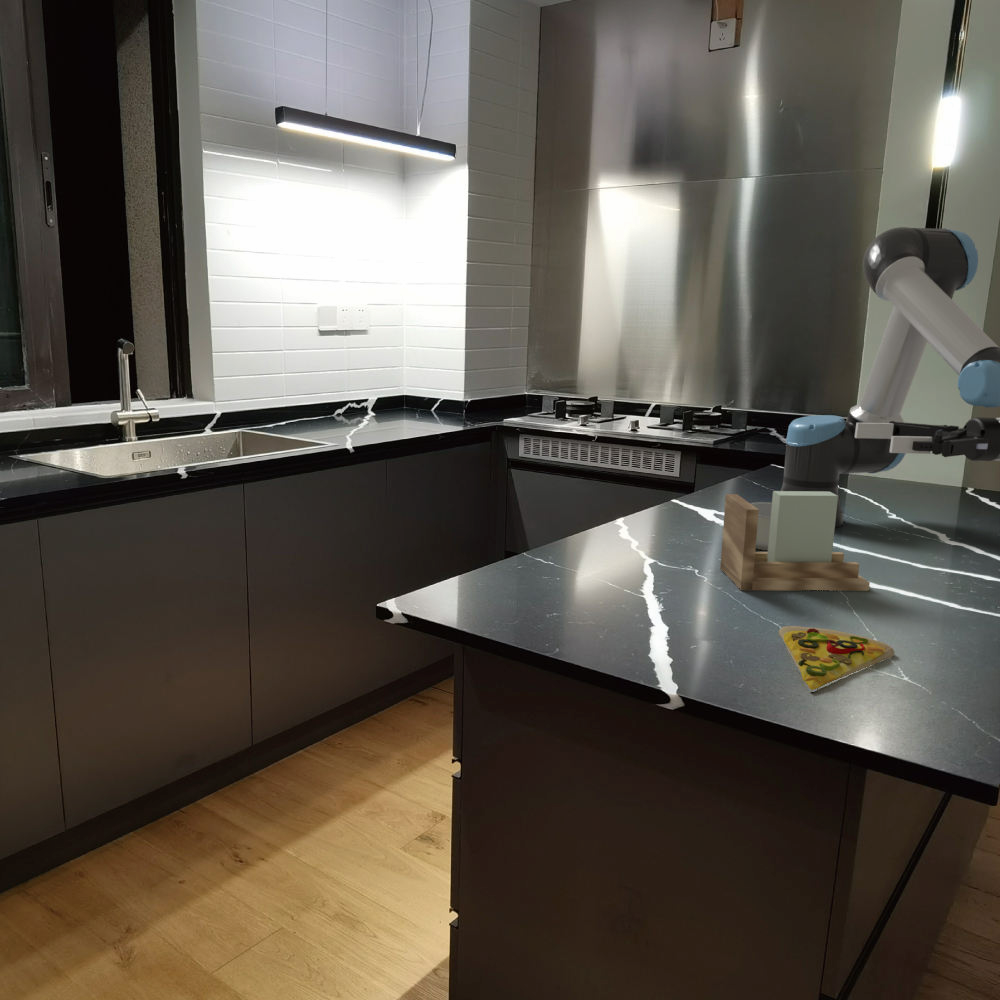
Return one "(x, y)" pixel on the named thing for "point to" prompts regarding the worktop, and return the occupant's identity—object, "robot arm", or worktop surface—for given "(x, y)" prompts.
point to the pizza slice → (830, 653)
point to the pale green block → (802, 526)
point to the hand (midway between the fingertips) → (872, 437)
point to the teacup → (763, 524)
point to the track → (788, 576)
